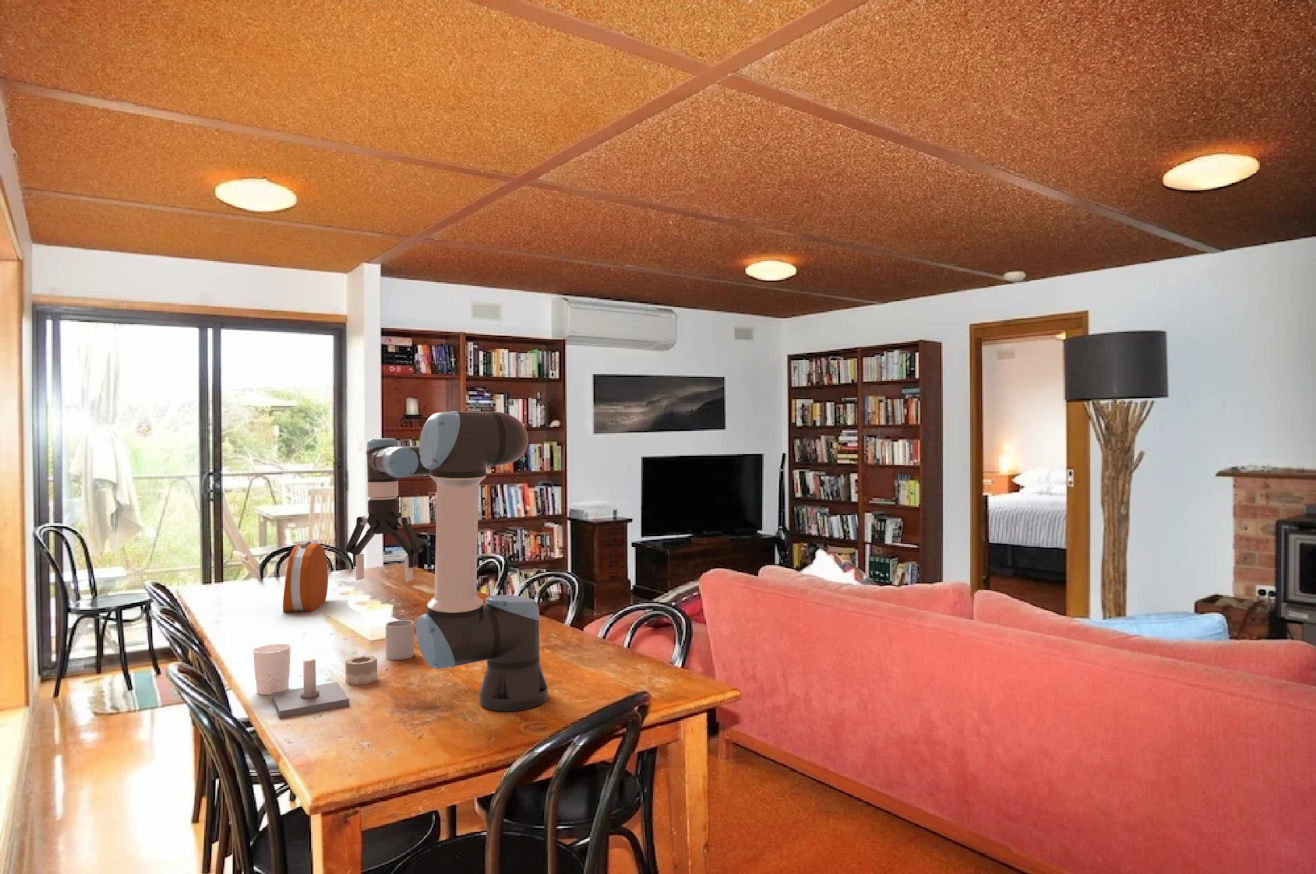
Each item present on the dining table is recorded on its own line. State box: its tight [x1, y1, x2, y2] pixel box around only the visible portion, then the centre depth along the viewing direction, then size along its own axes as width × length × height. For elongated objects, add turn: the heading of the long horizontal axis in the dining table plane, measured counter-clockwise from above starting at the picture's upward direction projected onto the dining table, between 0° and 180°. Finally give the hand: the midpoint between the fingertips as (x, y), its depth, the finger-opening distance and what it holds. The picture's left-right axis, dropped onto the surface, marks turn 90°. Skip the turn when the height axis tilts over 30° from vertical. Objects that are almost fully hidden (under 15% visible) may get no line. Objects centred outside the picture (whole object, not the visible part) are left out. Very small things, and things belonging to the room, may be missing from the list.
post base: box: [271, 658, 350, 719], centre depth 179 cm, size 14×14×10 cm
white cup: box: [252, 643, 291, 696], centre depth 187 cm, size 8×8×10 cm
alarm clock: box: [282, 540, 329, 613], centre depth 276 cm, size 22×10×23 cm, turn 6°
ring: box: [344, 655, 378, 686], centre depth 194 cm, size 7×7×5 cm
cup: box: [385, 619, 415, 661], centre depth 215 cm, size 7×10×9 cm
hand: (384, 580), depth 206 cm, fingers open, 13 cm apart
